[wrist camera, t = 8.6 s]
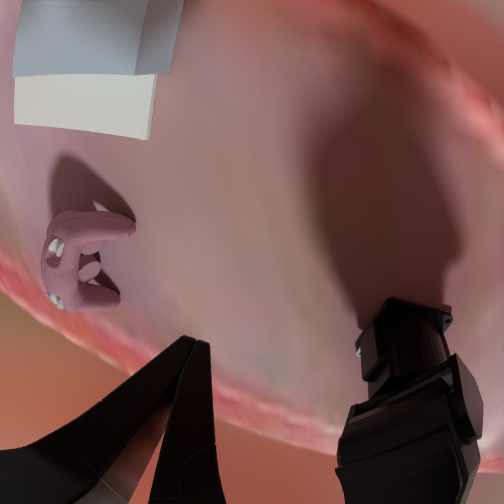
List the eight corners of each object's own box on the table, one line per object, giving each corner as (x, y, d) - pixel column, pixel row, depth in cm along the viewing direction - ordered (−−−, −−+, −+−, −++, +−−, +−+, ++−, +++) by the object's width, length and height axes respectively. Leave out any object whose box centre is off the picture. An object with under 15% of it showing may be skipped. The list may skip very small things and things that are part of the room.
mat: (196, -81, 10) (193, -84, 10) (149, 138, 19) (146, 139, 18) (43, -47, 11) (39, -48, 10) (18, 122, 19) (14, 123, 19)
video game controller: (113, 190, 23) (34, 207, 18) (143, 223, 22) (56, 248, 16) (99, 275, 29) (38, 298, 23) (123, 308, 27) (60, 337, 22)
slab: (162, -52, 8) (27, -21, 9) (134, 75, 12) (11, 77, 13) (194, -31, 12) (68, -16, 12) (171, 73, 16) (54, 70, 16)
